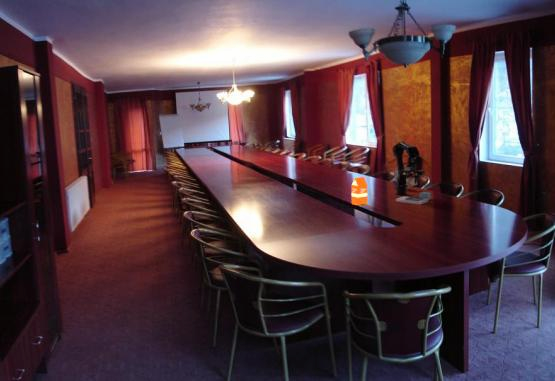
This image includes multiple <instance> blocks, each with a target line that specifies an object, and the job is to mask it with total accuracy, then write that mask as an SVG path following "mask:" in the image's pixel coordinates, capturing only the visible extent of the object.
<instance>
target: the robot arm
mask: <svg viewBox="0 0 555 381" xmlns="http://www.w3.org/2000/svg"><path fill="white" fill-rule="evenodd" d="M391 150H392V153H393V156H394V157H395V160H396V166H397V170H398V177H397V182H396V184H395V183H394V187H395V186H396V187H397V189H396V193H395V195H396V196H405V195H407V194H408V193H407V191H408V189H406V187H408V185H406V179H407V178H410V175H411V174H413V175H414V178H415V184H416V183H417V184H418V180H419V178H420V177H421V176H424V175H426V172H425V170H420V169H419V170H418V169H417V168H416V167H417V165H420V164H421V163H422V158H421V157H420V152H419V149H418V147H417V146H416V145H410V144H408V143H406V141H398V142H397V143H396V144H395V145H394V146H393V147H392V149H391ZM404 151H405V152H406V154H407V164H406V167H405V168H404V160H403V156H404Z"/></svg>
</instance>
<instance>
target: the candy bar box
mask: <svg viewBox="0 0 555 381" xmlns="http://www.w3.org/2000/svg"><path fill="white" fill-rule="evenodd" d="M397 177H398V169H394V177H393V178H394V189H395V190H397V187H396V186H395V184H396V182H397ZM409 188H410V185H408V187H406V189H407V190H409Z"/></svg>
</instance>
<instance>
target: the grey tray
mask: <svg viewBox="0 0 555 381" xmlns="http://www.w3.org/2000/svg"><path fill="white" fill-rule="evenodd" d="M395 202H397V203H404V204H413V205H424V204H427V203H428V202H429V200H428V199H423V197H419V196H412V195H410V196H405V195H402V196H400V197H397V198H395Z"/></svg>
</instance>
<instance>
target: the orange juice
mask: <svg viewBox="0 0 555 381" xmlns="http://www.w3.org/2000/svg"><path fill="white" fill-rule="evenodd" d="M367 183H368V182H367V181H366V179H365V177H364V176H360V177H354V178H353V181H352V184H350V185H351V204H352V205H353V206H354V205H355V206H357V205H359V206H362V205H361V204H365V205H368V184H367Z"/></svg>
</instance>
